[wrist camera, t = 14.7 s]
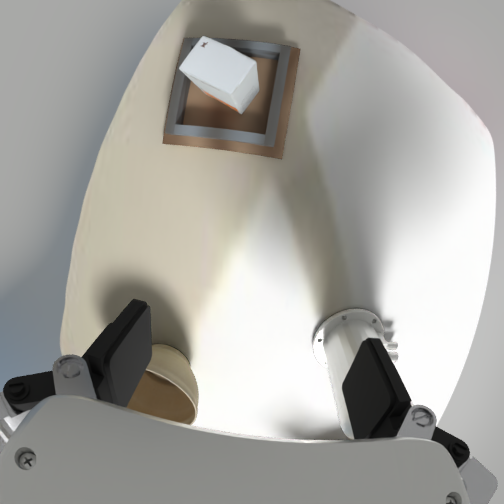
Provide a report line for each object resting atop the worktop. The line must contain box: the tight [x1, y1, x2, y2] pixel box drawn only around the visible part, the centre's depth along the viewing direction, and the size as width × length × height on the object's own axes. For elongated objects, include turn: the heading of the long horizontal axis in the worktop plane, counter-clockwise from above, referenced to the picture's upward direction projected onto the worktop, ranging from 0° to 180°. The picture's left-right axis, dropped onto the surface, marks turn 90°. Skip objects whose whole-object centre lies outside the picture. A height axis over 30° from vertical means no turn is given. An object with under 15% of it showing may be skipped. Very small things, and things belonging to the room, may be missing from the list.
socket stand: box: [162, 38, 300, 159], centre depth 31 cm, size 16×16×4 cm
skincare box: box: [179, 36, 259, 114], centre depth 26 cm, size 6×4×12 cm
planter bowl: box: [126, 344, 198, 425], centre depth 43 cm, size 16×16×11 cm
